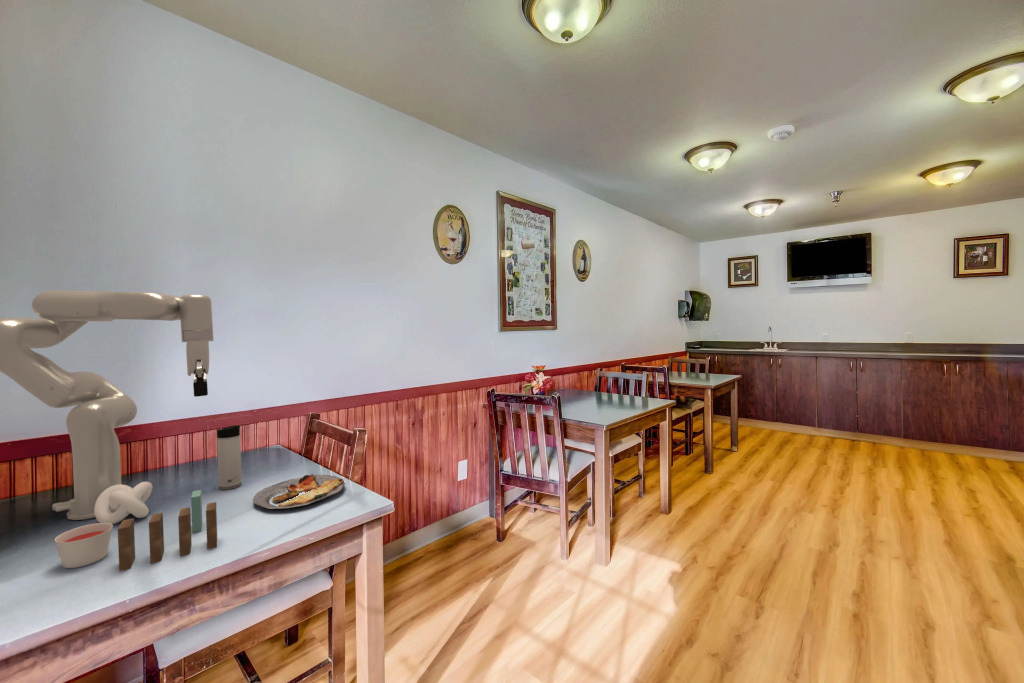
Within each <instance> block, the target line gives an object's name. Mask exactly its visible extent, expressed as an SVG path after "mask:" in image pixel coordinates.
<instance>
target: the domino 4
mask: <svg viewBox="0 0 1024 683" xmlns="http://www.w3.org/2000/svg"><path fill="white" fill-rule="evenodd" d="M190 498H191V499H190V501H191V502H190V504H191V507H190V510H191V534H195V533H199V532H202V528H203V505H202V504H203V499H202V489H200V490H193V491H192V493H191V497H190Z"/></svg>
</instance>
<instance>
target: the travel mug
mask: <svg viewBox="0 0 1024 683" xmlns="http://www.w3.org/2000/svg"><path fill="white" fill-rule="evenodd" d="M240 428H241V425H240V424H237V425H230V426H224V427H221V428H220V429H216V445H217V446H216V447H217V448H216V449H217V450H216V451H217V453H216V454H217V456H216V457H217V482H218V490H220V491H228V490H233V489H236V488H237V489H238V487H241V485H242V483H243V482H242V481H243V480H242V479H243V478H242V456H241V455H242V453H241V452H242V449H241V429H240Z"/></svg>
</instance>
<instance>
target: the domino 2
mask: <svg viewBox="0 0 1024 683" xmlns="http://www.w3.org/2000/svg"><path fill="white" fill-rule="evenodd" d="M163 515H164V512H158V513H153V514H151V517H150V519H149V522H148V534H149V536H148V537H149V539H148V540H149V560H150V561H149V562H150V564H155V563H157V562H162V559H163V557H164V553H165V540H164V538H165V537H164V536H165V534H164V516H163Z"/></svg>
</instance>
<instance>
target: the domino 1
mask: <svg viewBox="0 0 1024 683" xmlns="http://www.w3.org/2000/svg"><path fill="white" fill-rule="evenodd" d="M117 543H118V546H117V547H118V549H117V550H118V569H119V570H118V571H119V572H122V571H124V570H129V569H132V566H133V564H134V562H135V560H136V545H135V543H136V542H135V518H134V517H133V518H127V519H123V520H121V523H120V524H119V526H118V527H117Z"/></svg>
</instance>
